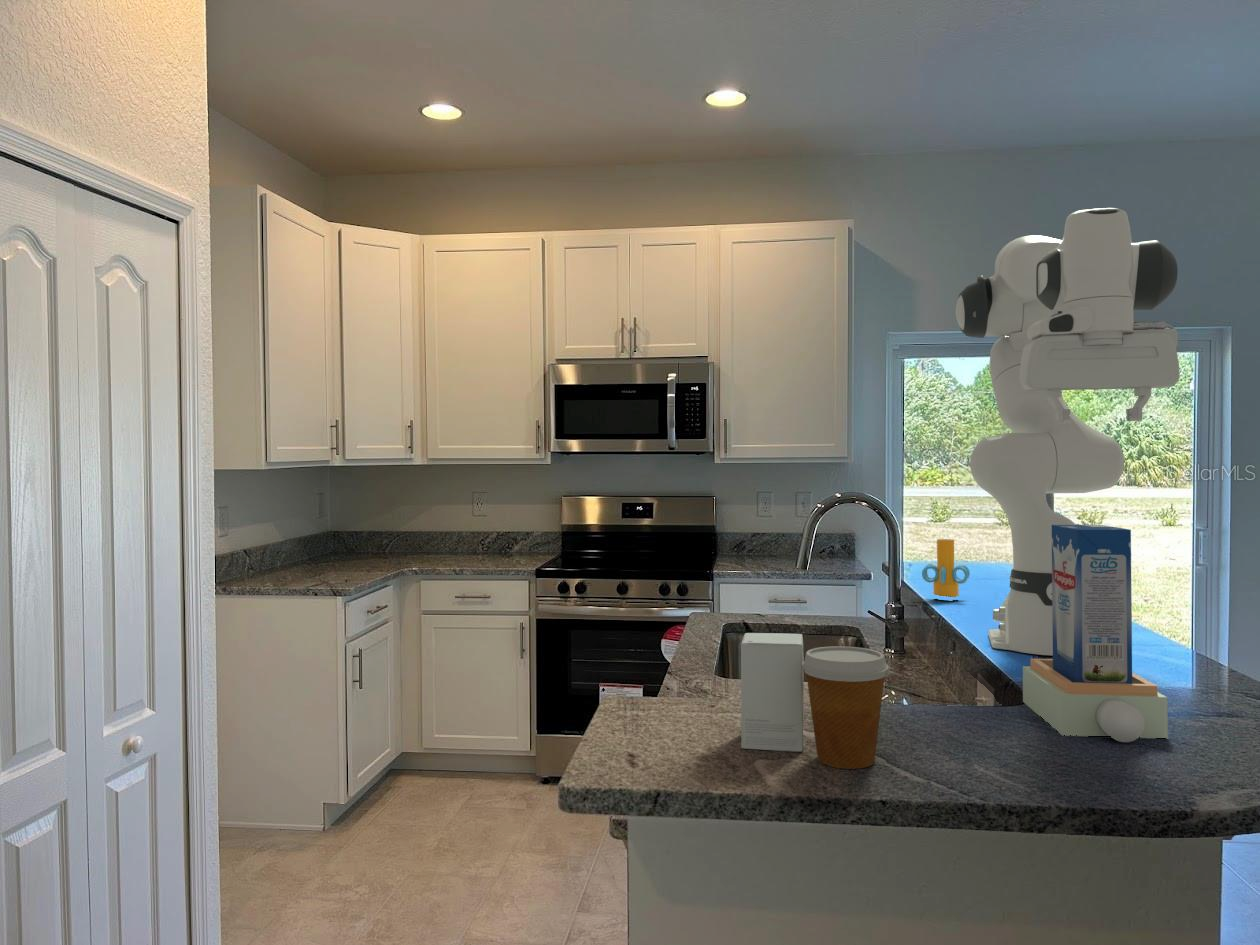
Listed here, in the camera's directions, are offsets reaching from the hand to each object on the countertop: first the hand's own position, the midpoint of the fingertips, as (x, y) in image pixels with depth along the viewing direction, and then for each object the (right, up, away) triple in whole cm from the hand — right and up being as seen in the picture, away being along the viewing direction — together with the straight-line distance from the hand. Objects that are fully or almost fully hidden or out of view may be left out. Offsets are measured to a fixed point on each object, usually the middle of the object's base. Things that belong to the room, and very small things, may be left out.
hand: (1098, 421), depth 125 cm
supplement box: (-48, -40, -17) cm, 65 cm away
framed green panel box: (-6, -39, -11) cm, 41 cm away
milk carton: (-6, -34, -10) cm, 36 cm away
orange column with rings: (+13, -39, +96) cm, 105 cm away
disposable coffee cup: (-41, -40, -24) cm, 62 cm away
